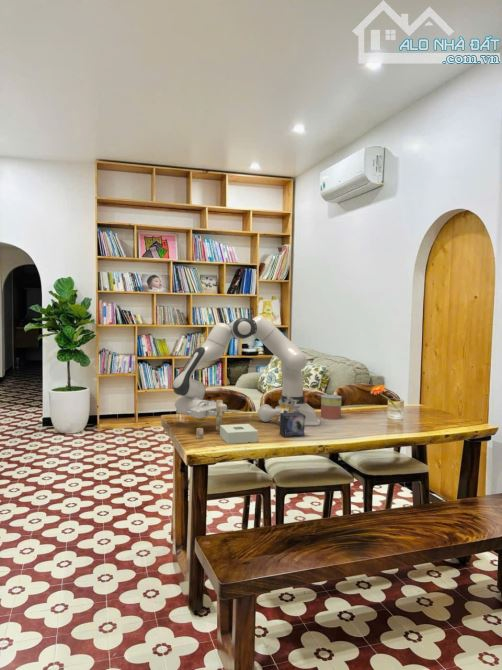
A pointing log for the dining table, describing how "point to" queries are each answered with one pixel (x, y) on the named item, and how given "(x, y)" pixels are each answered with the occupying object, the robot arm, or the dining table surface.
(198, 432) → the short pin
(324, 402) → the canned food
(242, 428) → the grey flat block
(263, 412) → the flower vase
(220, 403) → the tall pin
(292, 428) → the small box
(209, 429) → the dining table surface
